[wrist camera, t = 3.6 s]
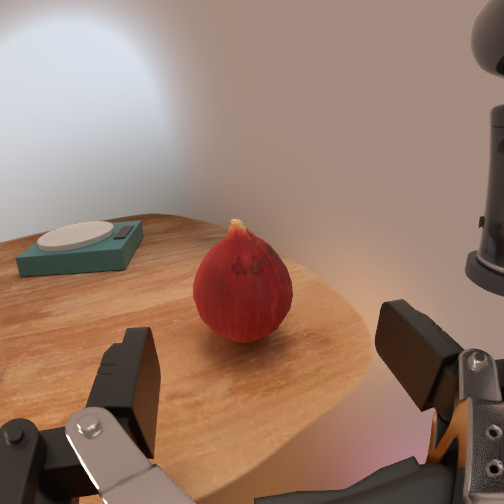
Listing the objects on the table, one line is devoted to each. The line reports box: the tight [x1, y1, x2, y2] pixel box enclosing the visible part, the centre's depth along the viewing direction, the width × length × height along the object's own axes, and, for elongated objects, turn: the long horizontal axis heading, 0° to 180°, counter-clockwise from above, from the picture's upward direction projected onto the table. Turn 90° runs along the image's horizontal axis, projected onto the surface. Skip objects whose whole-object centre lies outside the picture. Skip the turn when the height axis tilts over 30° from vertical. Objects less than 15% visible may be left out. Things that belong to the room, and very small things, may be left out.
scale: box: [16, 220, 143, 277], centre depth 36 cm, size 14×12×3 cm
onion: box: [193, 219, 293, 344], centre depth 19 cm, size 6×6×8 cm
